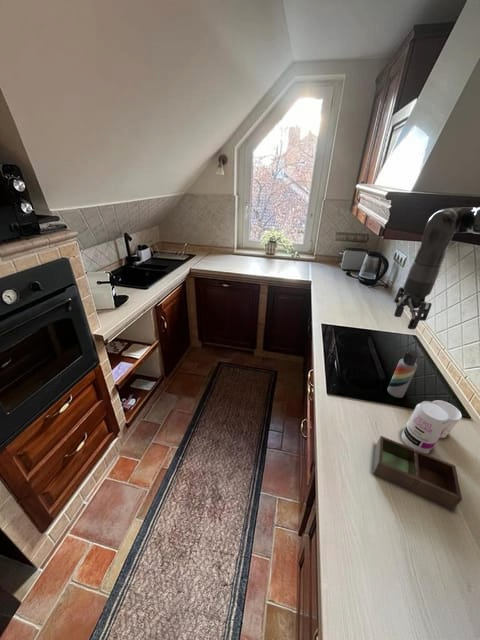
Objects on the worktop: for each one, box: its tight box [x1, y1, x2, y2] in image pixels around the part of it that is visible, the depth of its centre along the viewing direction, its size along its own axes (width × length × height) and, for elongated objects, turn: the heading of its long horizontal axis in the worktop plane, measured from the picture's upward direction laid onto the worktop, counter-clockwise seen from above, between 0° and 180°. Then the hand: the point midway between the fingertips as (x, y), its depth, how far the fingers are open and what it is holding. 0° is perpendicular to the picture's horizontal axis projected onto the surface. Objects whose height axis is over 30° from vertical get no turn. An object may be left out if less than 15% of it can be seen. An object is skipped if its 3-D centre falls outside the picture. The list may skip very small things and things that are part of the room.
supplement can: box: [401, 400, 449, 454], centre depth 77 cm, size 8×8×15 cm
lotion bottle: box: [386, 349, 420, 399], centre depth 94 cm, size 6×6×20 cm
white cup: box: [432, 399, 463, 439], centre depth 82 cm, size 8×8×10 cm
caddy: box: [372, 435, 463, 511], centre depth 70 cm, size 18×10×6 cm, turn 61°
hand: (403, 322), depth 88 cm, fingers open, 8 cm apart
